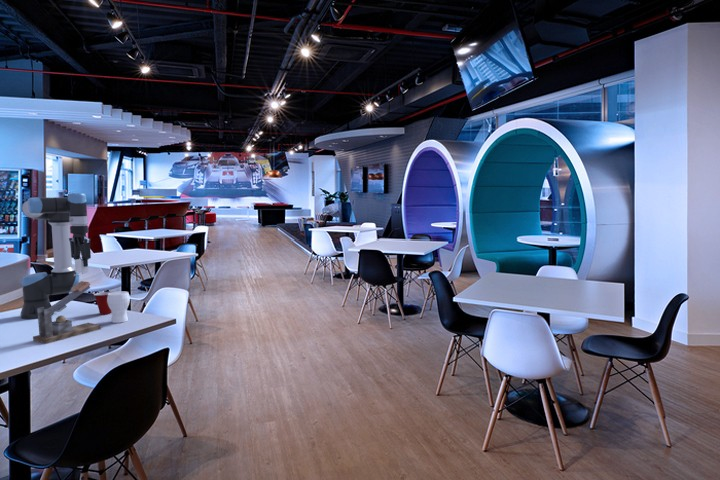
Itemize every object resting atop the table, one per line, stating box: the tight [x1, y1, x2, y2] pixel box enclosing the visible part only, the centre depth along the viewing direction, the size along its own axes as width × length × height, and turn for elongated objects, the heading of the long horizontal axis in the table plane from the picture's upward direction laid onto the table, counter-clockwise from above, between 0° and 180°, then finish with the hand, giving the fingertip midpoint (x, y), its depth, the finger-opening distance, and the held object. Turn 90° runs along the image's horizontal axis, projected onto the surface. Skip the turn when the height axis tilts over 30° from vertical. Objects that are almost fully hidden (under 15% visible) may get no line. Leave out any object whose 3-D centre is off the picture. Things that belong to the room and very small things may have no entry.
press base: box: [32, 307, 102, 345], centre depth 225 cm, size 26×10×15 cm, turn 152°
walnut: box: [55, 315, 67, 323], centre depth 222 cm, size 4×4×4 cm
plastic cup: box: [93, 291, 113, 316], centre depth 265 cm, size 11×11×12 cm
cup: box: [107, 290, 131, 324], centre depth 249 cm, size 11×11×15 cm
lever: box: [42, 280, 91, 316], centre depth 224 cm, size 23×6×5 cm, turn 152°
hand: (82, 272), depth 230 cm, fingers open, 4 cm apart
